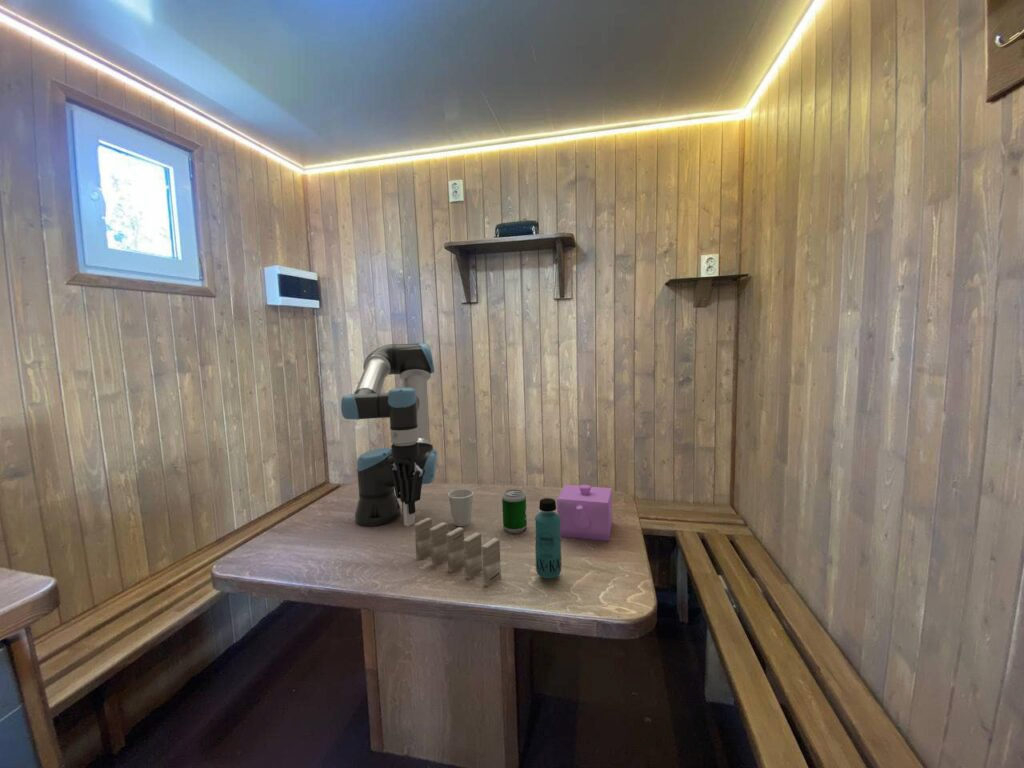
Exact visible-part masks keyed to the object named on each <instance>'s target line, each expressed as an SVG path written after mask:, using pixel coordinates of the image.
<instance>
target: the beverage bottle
mask: <svg viewBox="0 0 1024 768" xmlns="http://www.w3.org/2000/svg"><path fill="white" fill-rule="evenodd" d="M538 508H539V510H540V512H539V513H538V514H536V516H535V517H534V520H535V571H536V573H537V575H539V577H541V578H545V579H553V578H556V577H559V575H560V574H561V573H562V562H563V561H562V560H563V559H562V555H563V554H562V543H561V542H562V540H561V539H562V538H561V537H562V536H560V516H559V515H558V514H557V512H555V511H557V501H556V500H555V499H553V498H547V497H545V498H541V499H540V500H539V506H538Z"/></svg>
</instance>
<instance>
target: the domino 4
mask: <svg viewBox="0 0 1024 768" xmlns="http://www.w3.org/2000/svg"><path fill="white" fill-rule="evenodd" d="M463 544H464V578H465V579H467V580H469V581H471V579H473V578H474V577H476V576H477V575H478V574H480V573H482V572H483V563H482V546H483V545H482V534H481V533H479V532H474V533H473V534H471V535H469V536H467V537H466V538H464V540H463Z"/></svg>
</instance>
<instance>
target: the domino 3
mask: <svg viewBox="0 0 1024 768" xmlns="http://www.w3.org/2000/svg"><path fill="white" fill-rule="evenodd" d="M464 539H465V528H464V527H461V526H458V527H457V528H455V529H453V530H451V531H449V532H448V534H446V542H447V560H446V561H447V572H450V573H452V574H453V573H455V572H456V571H458V570H459V569H460V568H462V567H463V566H464V544H463V540H464ZM464 567H465V566H464Z"/></svg>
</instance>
